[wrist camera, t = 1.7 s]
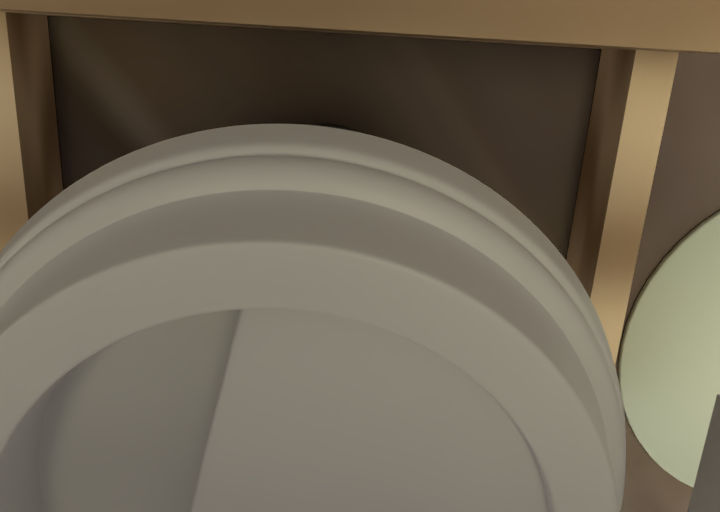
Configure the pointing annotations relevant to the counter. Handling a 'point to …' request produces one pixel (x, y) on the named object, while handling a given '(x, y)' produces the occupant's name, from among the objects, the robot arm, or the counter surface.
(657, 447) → the coaster
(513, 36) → the shelf bay
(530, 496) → the coffee cup
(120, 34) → the counter surface
